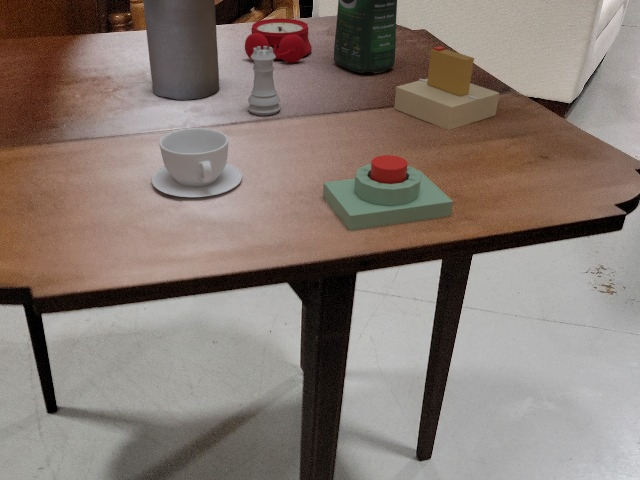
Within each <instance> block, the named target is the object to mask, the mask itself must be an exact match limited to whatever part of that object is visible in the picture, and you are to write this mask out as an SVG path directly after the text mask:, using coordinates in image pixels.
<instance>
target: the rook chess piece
mask: <svg viewBox="0 0 640 480" xmlns="http://www.w3.org/2000/svg"><path fill="white" fill-rule="evenodd" d="M275 57H276V56H275V54H274V53H273V49H272V47H269V50H267V46H264V50H261V47H260V46H258V47H257V50H256V48H254V49H253V54H252V55H251V58H252V59H251V60H252V61H253V62H254V66H253V67H252V70H253V71H254V72H253V73H254V78H253V86H252V90H251V91H250V93H251V94H250V95H249V96H248V99H247V102H248V104H249V105H248V106H247V109H248V111H249V112H250V113H251V114H253V115H254V116H260V117H261V116H262V117H265V116H273V115H275V114H277V113H278V112H279V111H280V109H281V105H280V104H279V103H280V102H281V99H280V96H279V94H277V93H278V92H277V90H276V88H275V82H274V70H275V67H274V65H273V62H274V61H275V60H276V59H275Z"/></svg>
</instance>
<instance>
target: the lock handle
mask: <svg viewBox="0 0 640 480" xmlns="http://www.w3.org/2000/svg"><path fill="white" fill-rule="evenodd" d="M474 60H475V57H473V56H469V55H466V54H463V53H459V52H457V51H456V52H455V51H453V50H449V49H446V46H442V45H438V46H434V47H432V48H431V49H430V55H429V65H428V73H427V78H428V80H427V85H430V86H433V87H436V88H439V89H441V90H444V91H447V92H450V93H453V94H455V95H458V96H463V95H466V94H469V88H470V83H472V74H473V69H474V68H473V67H474V63H475V62H474Z"/></svg>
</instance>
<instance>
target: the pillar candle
mask: <svg viewBox="0 0 640 480" xmlns="http://www.w3.org/2000/svg"><path fill="white" fill-rule="evenodd" d="M215 1H216V0H142V3H143V10H144V11H143V13H144V22H145V30H146V40H147V48H148V58H149V68H150V77H151V86H152V87H151V88H152V91H153V93H154V94H155V95H156V96H157V97H163V98H168V99H172V100H177V101H190V100H198V99H199V100H200V99H204V98H206V97H209V96H212V95H213V94H215V93H216V92H218V90H220V72H219V71H220V69H219V51H218V50H219V49H218V34H217V20H216V19H217V18H216V2H215Z"/></svg>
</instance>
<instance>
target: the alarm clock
mask: <svg viewBox="0 0 640 480" xmlns="http://www.w3.org/2000/svg"><path fill="white" fill-rule="evenodd" d="M250 29H251V34H249V35H248V36H247V37H246V39H245V41H244V51H245V54H246V55H247V57H248V59H250V60H252V58H251V55H252V54H253V49H254V48H256V50H257V47H258V46H260V47H261V50H264V46H267V50H269V47H272V49H273V53H274V54H275V56H276V57H275V59H274V60H282V61H284V62H285V63H290V64H293V63H298V62H299V61H301V60H302V59H303V57H305V56H307V55H309V54H311V52H312V50H313V47H312V44H311V42H310V39H309V25H308V23H306V22H304V21H302V20H298V19H293V18H268V19H261V20H258V21H256V22H254V23H252V25H251V28H250Z"/></svg>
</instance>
